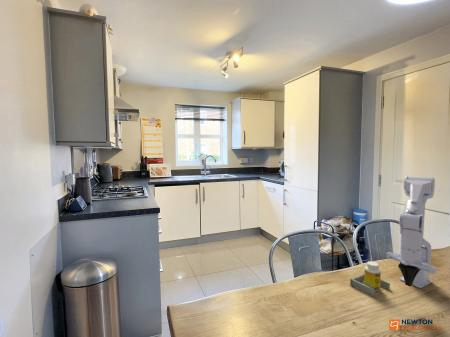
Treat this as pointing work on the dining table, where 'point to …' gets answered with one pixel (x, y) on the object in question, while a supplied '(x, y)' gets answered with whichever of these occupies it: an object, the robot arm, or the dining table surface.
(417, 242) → the robot arm
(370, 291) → the cup cradle
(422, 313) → the dining table surface
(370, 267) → the supplement bottle
